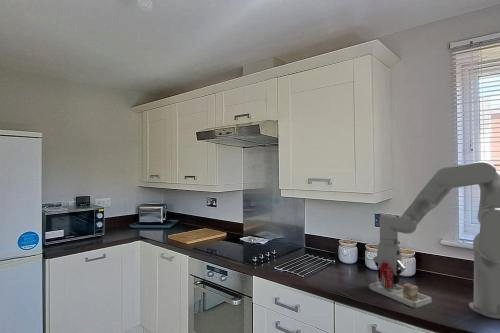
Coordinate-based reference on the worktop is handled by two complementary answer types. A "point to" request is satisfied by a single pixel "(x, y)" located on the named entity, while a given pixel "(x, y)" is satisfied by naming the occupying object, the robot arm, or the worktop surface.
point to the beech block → (410, 292)
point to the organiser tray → (400, 295)
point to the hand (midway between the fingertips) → (388, 280)
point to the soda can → (386, 276)
